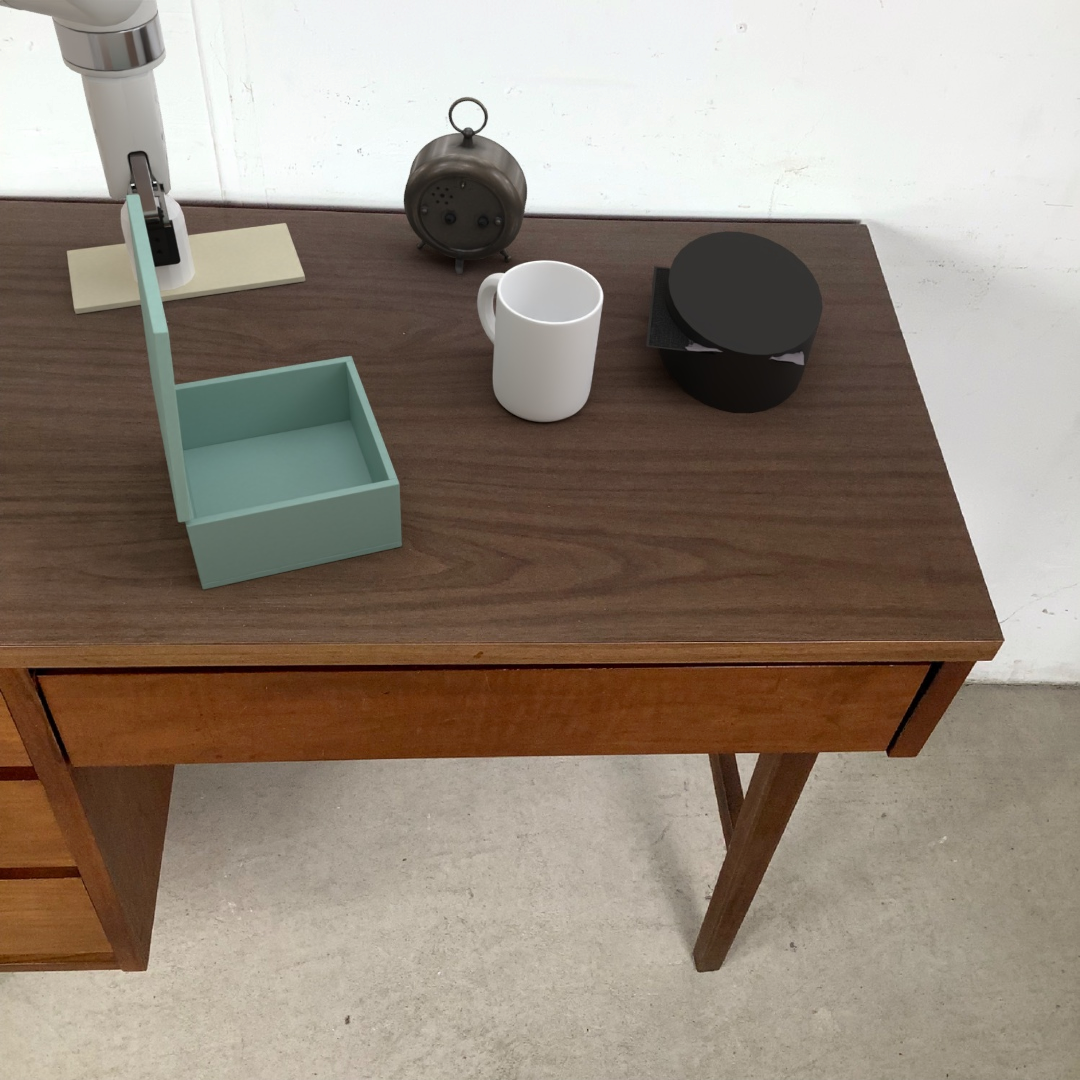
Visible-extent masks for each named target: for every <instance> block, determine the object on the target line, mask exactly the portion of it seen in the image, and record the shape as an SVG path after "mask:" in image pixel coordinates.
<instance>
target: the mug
mask: <svg viewBox="0 0 1080 1080" xmlns="http://www.w3.org/2000/svg"><path fill="white" fill-rule="evenodd" d="M495 294H496V302H495V310H494V297H495ZM603 303H604V291H603V289H602V286H601V284H600V282H598V280H597V279H596V277H594V275H592V274H590V273H589V272H588V271H586V270H585V269H583V268H580V267H579V266H577V265H574V264H571V263H566V262H562V261H557V260H534V261H533V260H532V261H528V262H523V263H520V264H517V265H514V266H513V267H511V268H510V269H508V270H507V271H505V273H504V272H496V273H495V272H494V273H492V274H490V275H488V276H487V277H485V279H483V281H482V283H480V286H479V289H478V292H477V297H476V305H477V307H476V308H477V313H478V318H479V321H480V324H481V326H482V329H483V331H484V333H485V335H486V336H487V338H488V339H489V340H490V342H491V343H492V344H493V360H492V361H493V362H492V388H493V394H494V396H495V398H496V399H497V401H498V403H499V404H500V405H501V406H502V407H503V408H505V410H506V411H508V412H509V413H511V414H513V415H515V416H516V417H518V418H521V419H524V420H527V421H531V422H538V423H551V422H558V421H562V420H565V419H567V418H569V417H571V416H573V415H575V414H577V413H578V412H579V411H580V410H581V409H582V408H583V407H585V404H586V403H587V401H588V399H589V396H590V392H591V388H592V381H593V376H594V375H593V374H594V367H595V360H596V354H597V348H598V347H597V346H598V338H599V331H600V326H601V325H600V324H601V317H602V312H603V311H602V310H603Z"/></svg>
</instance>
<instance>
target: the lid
mask: <svg viewBox="0 0 1080 1080" xmlns="http://www.w3.org/2000/svg"><path fill="white" fill-rule="evenodd" d="M125 199H126V200H125V202H126V201H127V208H128V215H129V222H130V230H131V237H132V244H133V251H134V258H135V265H136V273H137V280H138V287H139V294H140V301H141V305H140V307H141V315H142V322H143V330H144V336H145V345H146V351H147V358H148V364H149V365H148V366H149V372H150V379H151V385H152V390H153V396H154V401H155V406H156V407H155V408H156V412H157V417H158V423H159V429H160V433H161V438H162V443H163V449H164V454H165V458H166V459H165V460H166V464H167V470H168V476H169V481H170V487H171V490H172V491H171V492H172V497H173V502H174V508H175V512H176V519H177V522H178V523H185V521H190V520H191V516H190V507H189V499H188V491H187V482H186V474H185V466H184V457H183V449H182V441H181V432H180V424H179V416H178V407H177V399H176V391H175V385H176V383H175V375H174V367H173V366H174V365H173V359H172V357H173V356H172V350H171V341H170V333H169V332H170V331H169V328H168V324H167V318H166V314H165V309H164V304H163V302H162V299H161V295H160V290H159V285H158V281H157V276H156V271H155V266H154V262H153V257H152V252H151V248H150V243H149V238H148V234H147V229H146V224H145V220H144V215H143V210H142V205H141V201H140V196H139V195H126V198H125Z"/></svg>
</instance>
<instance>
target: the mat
mask: <svg viewBox="0 0 1080 1080" xmlns="http://www.w3.org/2000/svg"><path fill="white" fill-rule="evenodd" d="M188 239H189V244H190V249H191V254H192V259H193V264H194V270H195V274H194V276H193V278H192V280H191V281H189V282H188V283H187V284H185V285H184V286H181V287H178V288H176V289H172V290H164V291H160V295H161V299H162V303H164V302H170V301H176V300H184V299H190V298H191V299H192V298H199V297H205V296H212V295H219V294H220V295H221V294H226V293H227V294H228V293H233V292H240V291H246V290H254V289H260V288H268V287H275V286H280V285H281V286H283V285H289V284H295V283H302V282H306V276H305V275H306V274H305V273H304V269H303V267H302V264H301V261H300V259H299V258H300V257H299V256H298V252H297V250H296V247H295V243H294V242H293V238H292V236H291V233H290V230H289V228H288V225H287V223H286V222H281V223H275V224H273V223H272V224H266V225H258V226H252V227H243V228H234V229H226V230H219V231H212V232H204V233H197V234H196V233H195V234H188ZM66 255H67V264H68V272H69V281H70V288H71V289H70V290H71V295H72V304H73V310H74V313H75V315H80V314H87V313H95V312H99V311H100V312H102V311H107V310H108V311H109V310H115V309H122V308H128V307H129V308H130V307H136V306H141V301H140V294H139V287H138V283H137V282H136V281H135V279H134V275H133V271H132V267H131V263H130V259H129V255H128V251H127V247H126V243H125V242H124V243H118V244H117V243H116V244H109V245H103V246H102V245H101V246H94V247H88V248H87V247H86V248H79V249H78V248H77V249H72V250H67V251H66Z"/></svg>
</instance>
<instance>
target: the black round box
mask: <svg viewBox="0 0 1080 1080" xmlns="http://www.w3.org/2000/svg"><path fill="white" fill-rule="evenodd" d="M652 275H653V277H652V284H651V295H650V303H649V305H650V306H649V314H648V323H647V326H648V327H647V334H646V346H645V347H646V348H647V347H648V348H656V349H658V353H659V355H660V358H661V361H662V364H663V366H664V367H665V369H666V370H667V372H668V374H669V376H670V377H671V378H672V380H673V381H674V382H675V383H676V384H677V385H678V386H679V387H680V389H682V390H683V391H684V392H686V393H687V394H688V395H689V396H690V397H692V398H693V399H695V400H697V401H699V402H701V403H703V404H704V405H706V406H709V407H712V408H715V409H718V410H720V411H725V412H730V413H735V414H753V413H757V412H764V411H767V410H769V409H772V408H775V407H777V406H779V405H780V404H782V403H783V402H784V401H787V399H789V398H790V397H791V395H793V393H794V392H795V391H796V390H797V388H798V387H799V385H800V382H801V380H802V378H803V376H804V372H805V369H806V366H807V363H808V360H809V356H810V354H811V350H812V347H813V343H814V340H815V338H816V334H817V331H818V328H819V325H820V322H821V318H822V314H823V313H822V312H823V297H822V294H821V293H822V292H821V289H820V286H819V283H818V282H817V280H816V278H815V276H814V274H813V273H812V271H811V270H810V269H809V268H808V267H807V265H806V264H805V262H803V261H802V260H801V259H800V257H798V256H797V255H796V254H795V253H794V252H792V251H791V250H789V249H788V248H786V247H784V246H783V245H782V244H779V243H778V242H775V241H773V240H771V239H769V238H767V237H764V236H761V235H757V234H754V233H749V232H743V231H729V230H726V231H718V232H717V231H716V232H711V233H708V234H705V235H702V236H699V237H697V238H695V239H693V240H691V241H689V242H688V243H687V244H686V245H684V246H683V247H682V248H681V249H680V250H679V251H678V253H677V254H676V256H675V257H674V259H673V261H672V263H671V266H670V267H665V266H656V265H653V274H652Z"/></svg>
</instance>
